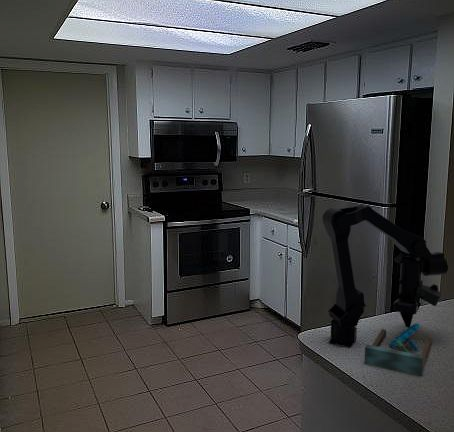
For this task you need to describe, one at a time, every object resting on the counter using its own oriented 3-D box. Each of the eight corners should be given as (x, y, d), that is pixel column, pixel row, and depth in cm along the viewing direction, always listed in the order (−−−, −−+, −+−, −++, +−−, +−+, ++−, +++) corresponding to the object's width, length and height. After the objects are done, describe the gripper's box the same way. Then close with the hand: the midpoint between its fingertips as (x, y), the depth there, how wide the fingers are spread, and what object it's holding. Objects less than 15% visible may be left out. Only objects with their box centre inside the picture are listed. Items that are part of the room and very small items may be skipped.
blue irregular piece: (396, 332, 137) (420, 316, 131) (410, 349, 135) (435, 333, 129) (381, 349, 129) (407, 333, 123) (396, 367, 127) (423, 351, 121)
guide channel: (364, 363, 121) (364, 347, 120) (381, 335, 139) (382, 321, 139) (421, 375, 114) (422, 358, 113) (431, 344, 132) (432, 329, 132)
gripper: (436, 288, 124) (433, 343, 126) (443, 272, 140) (440, 321, 142) (393, 282, 129) (391, 335, 132) (404, 268, 146) (402, 315, 148)
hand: (408, 326), depth 138 cm, fingers closed
